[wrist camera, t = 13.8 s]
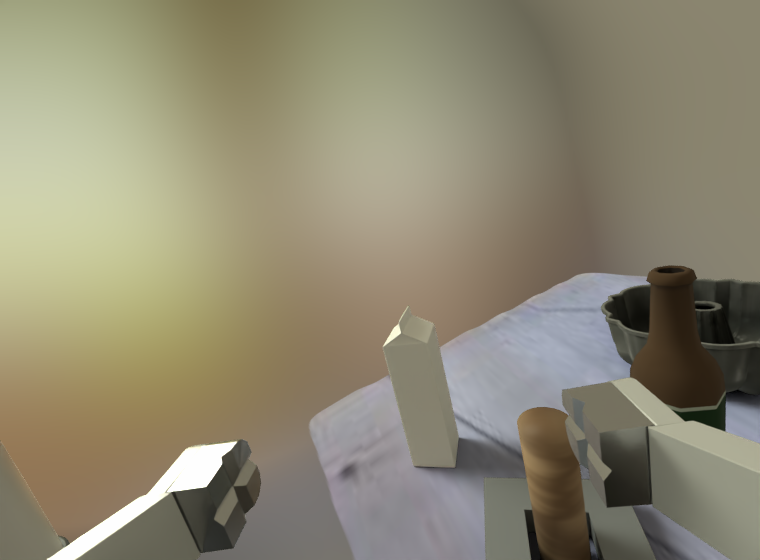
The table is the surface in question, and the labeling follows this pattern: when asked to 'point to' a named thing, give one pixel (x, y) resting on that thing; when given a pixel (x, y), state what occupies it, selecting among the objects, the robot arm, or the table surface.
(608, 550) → the socket block
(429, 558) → the table surface
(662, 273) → the beer bottle
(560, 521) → the dowel
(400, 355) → the milk
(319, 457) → the table surface
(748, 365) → the bundt pan
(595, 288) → the table surface
